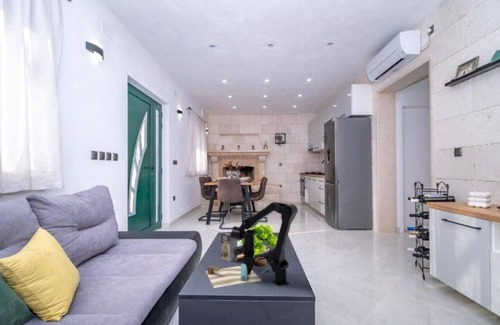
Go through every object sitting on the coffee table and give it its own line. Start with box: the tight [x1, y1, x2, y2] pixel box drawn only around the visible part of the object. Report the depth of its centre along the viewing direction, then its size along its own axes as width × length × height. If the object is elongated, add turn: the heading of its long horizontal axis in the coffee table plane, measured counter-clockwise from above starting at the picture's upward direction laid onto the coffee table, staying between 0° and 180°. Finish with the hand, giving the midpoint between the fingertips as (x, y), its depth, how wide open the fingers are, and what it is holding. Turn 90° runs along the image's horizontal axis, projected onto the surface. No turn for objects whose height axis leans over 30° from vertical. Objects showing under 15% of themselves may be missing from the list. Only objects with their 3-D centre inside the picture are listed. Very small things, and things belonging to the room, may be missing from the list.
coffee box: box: [220, 231, 238, 262], centre depth 159 cm, size 9×6×16 cm
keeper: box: [207, 265, 221, 275], centre depth 136 cm, size 6×3×3 cm, turn 60°
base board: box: [205, 265, 262, 289], centre depth 134 cm, size 21×24×1 cm
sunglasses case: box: [254, 257, 269, 268], centre depth 156 cm, size 18×7×7 cm
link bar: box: [240, 263, 247, 281], centre depth 136 cm, size 18×3×2 cm, turn 0°
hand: (249, 270), depth 137 cm, fingers open, 9 cm apart
